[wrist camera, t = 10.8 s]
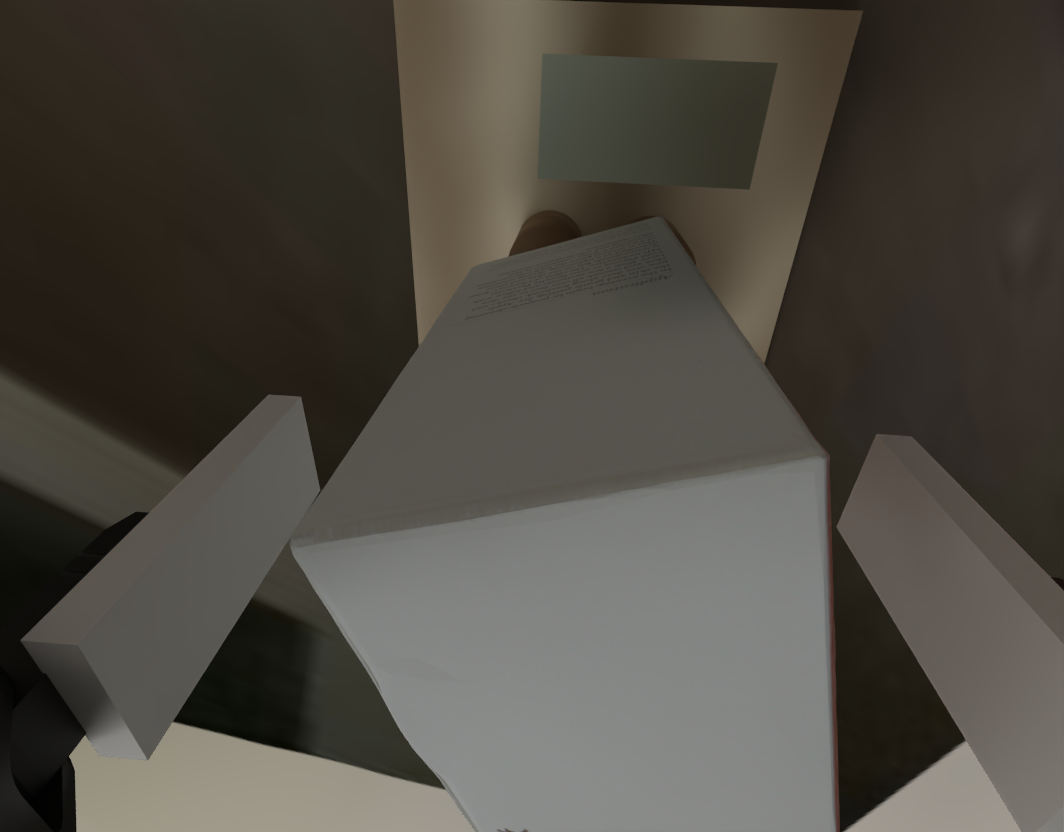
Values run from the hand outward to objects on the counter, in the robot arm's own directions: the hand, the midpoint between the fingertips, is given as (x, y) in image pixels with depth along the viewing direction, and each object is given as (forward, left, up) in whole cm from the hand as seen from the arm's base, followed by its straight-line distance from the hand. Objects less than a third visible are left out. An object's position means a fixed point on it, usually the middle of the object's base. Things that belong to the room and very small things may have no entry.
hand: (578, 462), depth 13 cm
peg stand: (0, 0, -11) cm, 11 cm away
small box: (0, 0, -7) cm, 7 cm away
